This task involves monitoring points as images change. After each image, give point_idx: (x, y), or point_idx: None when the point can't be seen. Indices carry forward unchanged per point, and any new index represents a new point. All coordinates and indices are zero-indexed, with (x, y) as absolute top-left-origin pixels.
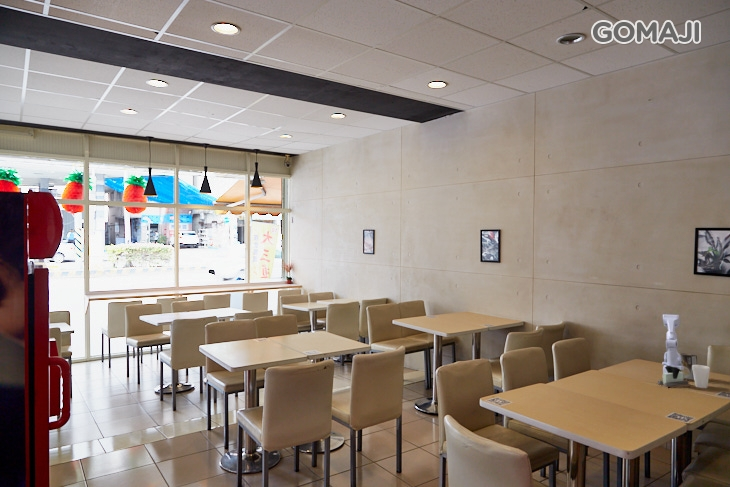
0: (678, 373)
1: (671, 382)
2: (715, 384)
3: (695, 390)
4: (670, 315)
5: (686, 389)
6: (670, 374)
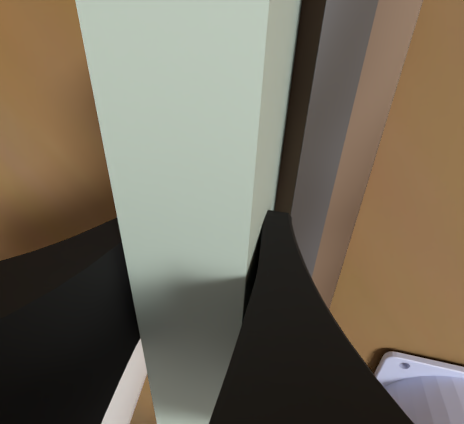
0: (152, 372)
1: None
2: (148, 416)
3: (3, 178)
4: None
5: (39, 125)
6: (119, 160)
